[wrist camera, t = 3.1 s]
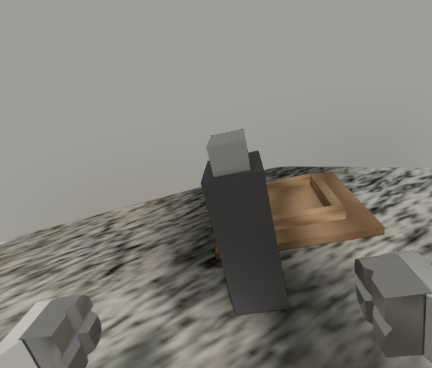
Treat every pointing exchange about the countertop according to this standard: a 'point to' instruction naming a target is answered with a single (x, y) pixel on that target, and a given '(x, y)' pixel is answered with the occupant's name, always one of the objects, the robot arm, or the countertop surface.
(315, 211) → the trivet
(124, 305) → the countertop surface
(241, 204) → the capped dark pillar
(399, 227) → the countertop surface
